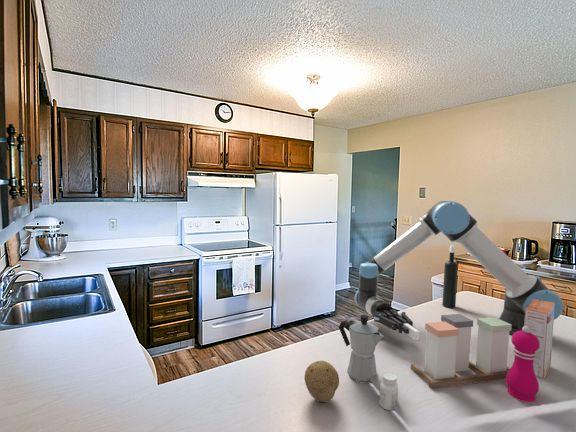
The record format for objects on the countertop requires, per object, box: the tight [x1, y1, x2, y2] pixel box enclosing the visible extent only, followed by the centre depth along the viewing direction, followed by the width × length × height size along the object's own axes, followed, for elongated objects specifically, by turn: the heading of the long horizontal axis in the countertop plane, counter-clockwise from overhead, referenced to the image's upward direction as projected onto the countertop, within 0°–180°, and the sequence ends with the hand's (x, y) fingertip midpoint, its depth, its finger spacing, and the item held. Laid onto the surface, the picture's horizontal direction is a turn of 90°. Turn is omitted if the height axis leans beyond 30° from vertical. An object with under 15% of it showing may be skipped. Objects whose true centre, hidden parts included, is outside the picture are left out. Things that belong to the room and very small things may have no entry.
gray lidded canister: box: [440, 313, 474, 373], centre depth 100 cm, size 6×7×16 cm
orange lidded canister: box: [423, 321, 459, 380], centre depth 93 cm, size 6×7×16 cm
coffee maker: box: [338, 314, 385, 383], centre depth 97 cm, size 15×9×18 cm, turn 47°
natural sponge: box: [304, 360, 340, 403], centre depth 85 cm, size 9×9×10 cm
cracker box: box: [524, 299, 555, 379], centre depth 102 cm, size 14×6×21 cm, turn 134°
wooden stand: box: [410, 360, 511, 390], centre depth 98 cm, size 13×31×3 cm, turn 103°
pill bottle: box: [379, 372, 399, 411], centre depth 83 cm, size 4×4×8 cm
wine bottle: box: [441, 244, 459, 309], centre depth 159 cm, size 6×6×30 cm
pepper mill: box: [505, 326, 540, 403], centre depth 87 cm, size 7×7×20 cm
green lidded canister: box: [475, 316, 512, 373], centre depth 98 cm, size 6×7×16 cm
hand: (417, 335), depth 104 cm, fingers closed
